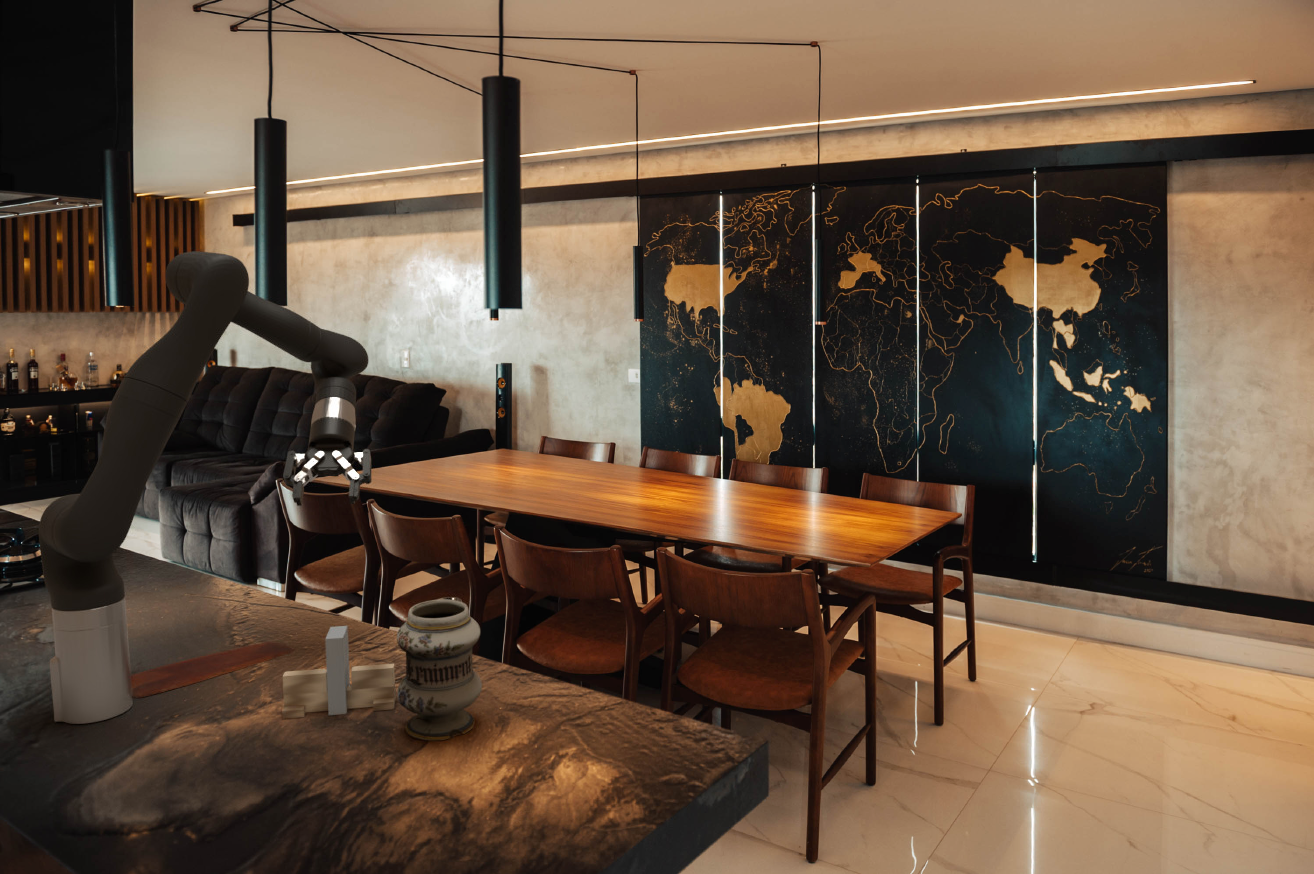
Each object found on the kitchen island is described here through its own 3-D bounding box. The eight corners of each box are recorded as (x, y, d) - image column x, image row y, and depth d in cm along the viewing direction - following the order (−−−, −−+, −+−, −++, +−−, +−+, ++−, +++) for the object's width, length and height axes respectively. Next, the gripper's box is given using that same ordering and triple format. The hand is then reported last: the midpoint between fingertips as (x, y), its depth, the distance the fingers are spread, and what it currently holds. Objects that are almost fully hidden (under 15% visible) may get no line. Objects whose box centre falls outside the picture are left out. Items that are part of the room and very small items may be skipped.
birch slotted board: (282, 718, 127) (280, 680, 126) (289, 704, 132) (287, 667, 131) (393, 709, 131) (392, 671, 130) (396, 695, 135) (395, 659, 135)
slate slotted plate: (328, 715, 128) (325, 638, 127) (333, 700, 134) (330, 626, 132) (346, 713, 129) (343, 637, 128) (350, 698, 134) (347, 625, 133)
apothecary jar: (428, 753, 117) (424, 627, 115) (382, 726, 125) (378, 608, 123) (499, 724, 126) (496, 607, 124) (452, 700, 134) (449, 589, 132)
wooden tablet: (138, 704, 133) (137, 694, 133) (114, 687, 140) (113, 677, 139) (300, 655, 154) (300, 646, 154) (273, 641, 160) (273, 633, 160)
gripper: (287, 415, 150) (276, 491, 141) (371, 414, 153) (366, 488, 144) (294, 441, 156) (284, 516, 146) (376, 440, 159) (371, 512, 149)
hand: (325, 502), depth 145 cm, fingers open, 8 cm apart
